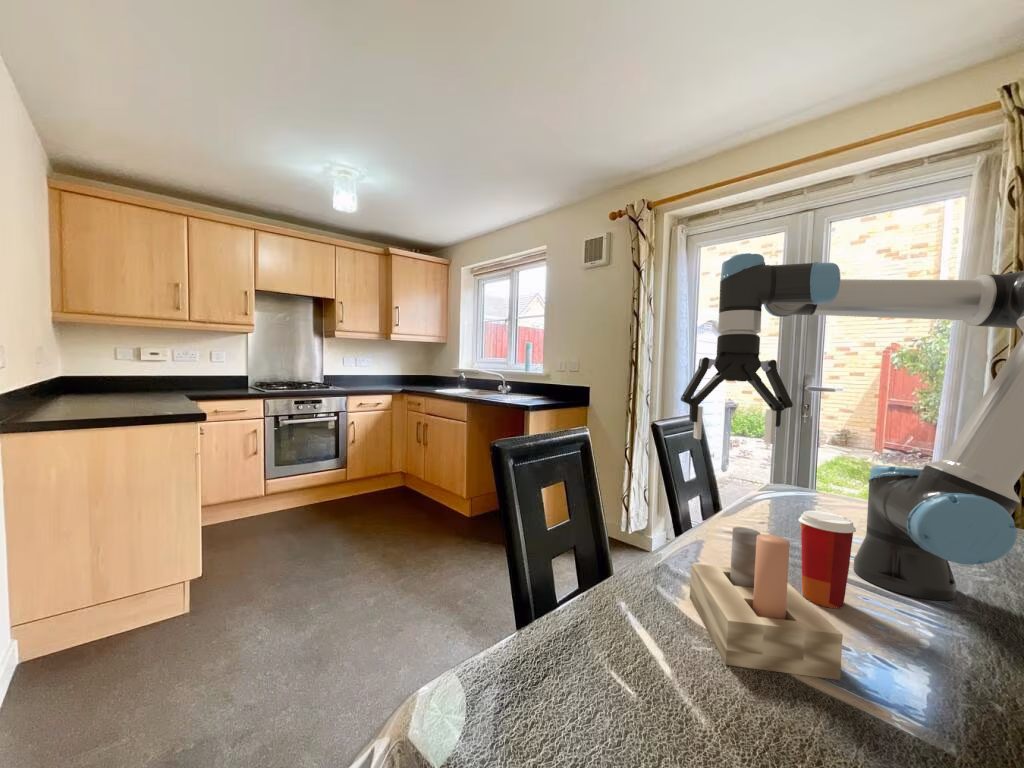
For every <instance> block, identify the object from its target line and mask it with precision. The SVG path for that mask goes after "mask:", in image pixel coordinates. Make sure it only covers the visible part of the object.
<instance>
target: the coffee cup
mask: <svg viewBox="0 0 1024 768" xmlns="http://www.w3.org/2000/svg"><path fill="white" fill-rule="evenodd" d="M798 522H800V528H801V529H800V532H801V533H800V535H801V536H800V538H801V541H800V542H801V546H800V547H801V552H800V553H801V555H800V556H801V593H802V597H804V598H805V599H806V600H807V601H808V602H809V603H812V604H815V605H818V606H821V607H824V608H828V609H842V608H843V606H844V603H845V597H846V589H847V583H848V578H849V577H848V576H849V570H850V562H851V555H852V545H853V537H854V533H856V532H857V530H856V527H854V522H853V521H852V520H850V519H849V518H848V517H846V516H843V515H840V514H835V513H832V512H826V511H819V510H805V511H803V513H802V514H800V517H799V518H798Z"/></svg>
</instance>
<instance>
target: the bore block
mask: <svg viewBox="0 0 1024 768" xmlns="http://www.w3.org/2000/svg"><path fill="white" fill-rule="evenodd" d="M760 534H761V532H760V531H758V530H755V529H753V528H749V527H744V526H743V527H742V526H736V527H733V528H732V536H731V537H732V538H731V555H730V567H727V566H717V565H708V564H698V563H691V565H690V567H691V568H690V584H689V585H690V586H689V598H690V601H691V603H692V605H693V606H694V608H695V610H696V612H697V614H698V616H699V617H700V619H701V621H702V623H703V625H704V626H705V629H706V631H707V632H708V634H709V636H710V638H711V640H712V642H713V644H714V645H715V648H716V649H717V651H718V652H719V655H720V657H721V658H722V661H723V662H724V664H725V666H733V667H740V668H748V669H755V670H761V671H762V670H764V671H770V672H778V673H786V674H791V675H799V676H805V677H806V676H808V677H813V678H814V677H815V678H821V679H827V680H828V679H830V680H837V681H840V680H841V673H842V672H841V669H842V666H841V665H842V654H843V653H842V651H843V633H842V632H841V631H840V630H838V629H837V628H836V627H835V625H833V624H832V623H831V622H830V621H829V620H828V619H827V618H826V617H825V616H824V615H823V614H822V613H820V612H819V610H817V609H816V608H815V607H814V605H812V604H811V602H810V601H809V600H807V599H806V598H805V597H804V596H803V595H802V594H801V593H799V591H797V590H796V589H795V588H794V587H793V586H792V585H791V584H790V583H789V582H787V600H786V617H785V620H782V619H773V618H765V617H758V616H757V615H756V614H755V613H754V611H753V595H754V577H755V558H756V540H757V535H760Z"/></svg>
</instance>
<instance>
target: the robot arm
mask: <svg viewBox="0 0 1024 768" xmlns="http://www.w3.org/2000/svg"><path fill="white" fill-rule="evenodd" d="M840 270H841V269H840V268H839V265H838V264H836V263H834V262H818V261H814V262H810V263H809V262H806V263H805V262H804V263H791V264H787V263H786V264H773V265H771V264H766V261H765V257H764V255H762V254H760V253H739V254H734V255H731V256H729V257H727V258H725V259H724V261H723V262H722V264H721V272H720V281H719V305H718V306H719V307H718V323H717V324H718V326H717V333H719V334H720V335H718V336H717V341H716V342H717V343H716V357H715V358H714V359H712V358H709V357H706V356H705V357H701V358H699V362H698V366H697V370H696V371H695V373H694V374H693V376H692V378H691V380H690V381H689V382H688V385H687V386H686V389H684V391H683V393H682V395H681V396H680V401H681V402H683V403H685V404H688V406H689V421H690V422H692V423H693V434H692V435H693V436H692V437H693V439H696V440H700V441H701V440H702V433H703V432H702V431H703V430H702V428H703V413H704V412H703V411H704V410H703V409H704V407H703V406H699V405H700V404H701V403H702V402H703V401H704V400H705V399H706V398H707V397H709V395H710V394H711V393H712V392H713V391H714V390H715V389H716V388H717V387H718V386H720V384H721V383H723V382H724V381H726V382H727V381H728V382H731V381H732V382H735V381H737V382H747V383H748V384H750V385H751V386H752V387H753V388H754V390H755V391H756V392H757V394H759V396H760V397H761V398H762V400H764V402H765V403H766V404H767V406H768V407H769V409H766V410H765V421H764V422H765V424H764V439H763V441H764V443H767V444H770V445H775V444H776V429H777V428H780V427H781V422H782V418H781V417H782V411H784V410H785V409H787V408H788V409H789V408H792V407H793V406H794V405H793V402H792V399H791V397H790V394H789V393H788V391H787V389H786V386H785V385H784V383H783V380H782V378H781V376H780V374H779V372H778V362H777V360H775V359H769V360H764V361H763V360H762V361H761V360H760V345H761V337H760V335H758V334H759V333H760V332H762V331H761V330H762V329H761V325H762V310H763V309H762V306H764V309H765V311H766V312H767V313H768V314H770V315H771V316H773V317H779V318H785V317H787V318H788V317H789V316H793V315H795V316H796V315H797V316H799V315H800V316H835V317H857V318H858V317H862V318H864V317H865V318H892V319H919V320H920V319H921V320H922V319H923V320H942V321H943V320H944V321H945V320H947V321H951V320H953V321H963V322H964V323H965V324H966V325H967V326H970V327H986V328H987V327H989V328H990V327H991V328H1003V329H1014V330H1015V329H1016V330H1020V331H1021V332H1022V336H1021V337H1020V339H1019V340H1018V342H1016V345H1015V346H1014V348H1013V349H1012V351H1011V353H1010V354H1009V356H1008V357H1007V358H1006V361H1005V362H1004V363H1003V365H1002V367H1001V368H1000V370H999V371H998V373H997V375H996V376H995V378H994V379H993V380H992V383H991V384H990V385H989V387H988V388H987V390H986V391H985V393H984V395H983V396H982V398H981V399H980V401H979V403H978V404H977V406H976V407H975V409H974V411H973V412H972V413H971V416H970V417H969V418H968V420H967V421H966V423H965V425H964V426H963V428H962V430H961V431H960V433H959V434H958V436H957V437H956V439H955V440H954V441H953V443H952V445H951V446H950V448H949V450H948V451H947V453H946V454H945V456H944V458H942V459H941V460H937V461H933V462H928V463H926V464H925V465H924V466H923V468H921V469H919V468H912V467H901V466H900V467H899V466H891V465H879V464H877V465H874V466H872V467H871V468H870V473H869V477H868V479H867V482H868V498H867V515H866V516H867V518H866V533H865V536H864V539H863V540H862V543H861V544H860V547H859V549H858V551H857V553H856V555H855V556H854V559H853V568H852V569H853V571H854V573H855V574H856V575H858V576H859V577H860V578H862V579H864V580H865V581H866V582H869V583H871V584H874V585H876V586H878V587H880V588H884V589H886V590H889V591H892V592H896V593H899V594H903V595H906V596H911V597H915V598H920V599H925V600H931V601H949V600H950V601H951V600H954V599H955V598H957V597H956V596H957V583H956V580H955V577H954V574H953V572H952V571H953V570H952V569H951V566H950V563H949V562H951V563H953V564H954V563H955V564H960V565H967V566H968V565H969V566H971V565H972V566H973V565H980V564H981V565H985V564H989V563H993V562H995V561H998V560H1000V559H1001V558H1004V557H1005V556H1006V555H1008V554H1009V553H1010V552H1011V551H1012V550H1013V548H1014V546H1015V545H1016V544H1017V539H1018V528H1017V527H1016V525H1015V520H1014V519H1013V516H1012V515H1013V513H1014V512H1015V511H1016V509H1017V507H1019V504H1020V503H1021V500H1020V498H1019V496H1018V494H1017V493H1016V492H1015V487H1014V486H1015V485H1016V483H1017V482H1018V480H1019V479H1020V477H1021V476H1022V474H1023V473H1024V270H1021V271H1015V272H1010V273H1009V272H1008V273H999V274H998V273H997V274H980V275H978V276H976V277H975V278H974V279H858V278H857V279H851V278H850V279H848V278H847V279H846V278H845V279H841V271H840ZM712 366H714V368H715V369H716V371H717V372H715V374H714V375H713V376H712V377H711V379H710V380H709V381H708V382H707V383H706V384H705V385H704V386H703V387H702V388H701V389H700V390H698V392H697V393H696V394H695V392H696V390H697V389H698V387H699V386H700V384H701V383H702V380H703V379H704V377H705V375H706V374H707V372H708V370H710V369H711V368H712ZM760 368H761V369H762V372H764V373H765V375H766V377H767V379H768V382H769V384H770V387H771V388H772V390H773V393H772V392H771V390H770V389H769V388H768V387H767V386H766V384H765V383H764V381H762V378H761V377H760V376H759V375H758V373H757V372H758V370H759V369H760ZM694 394H695V395H694ZM774 394H775V395H774Z"/></svg>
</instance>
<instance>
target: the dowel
mask: <svg viewBox="0 0 1024 768" xmlns="http://www.w3.org/2000/svg"><path fill="white" fill-rule="evenodd" d="M790 545H791V544H790V541H789V540H787V539H786V538H784V537H780V536H776V535H773V534H766V533H765V534H761V533H760V535H757V540H756V558H755V577H754V595H753V611H754V613H755V614H756V615H757V616H758V617H765V618H773V619H782V620H785V617H786V600H787V582H788V578H789V577H788V576H789V562H790V561H789V559H790ZM788 583H789V582H788Z"/></svg>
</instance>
